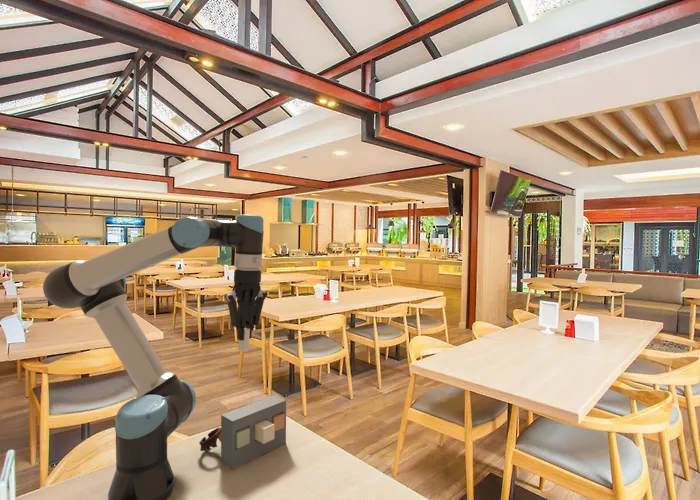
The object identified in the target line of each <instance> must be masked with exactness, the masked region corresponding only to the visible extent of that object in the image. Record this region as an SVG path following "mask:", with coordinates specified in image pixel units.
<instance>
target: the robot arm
mask: <svg viewBox="0 0 700 500" xmlns="http://www.w3.org/2000/svg"><path fill="white" fill-rule="evenodd" d="M264 233H265V230H264V218H263V217H262V216H261V215H255V214H240V213H239V214H237V216H236V220H231V221H230V220H222V219H211V218H203V217H197V216H191V215H190V216H184V217H180V218H179V219H177V220H176V221H175V223H174V224H173V225H170V226H168V227H166V228H163V229H161V230H158V231H156V232H154V233H151V234H149V235H146V236H144V237H142V238H138V239H137V240H134V241H132V242H129V243H126V244H124V245H122V246H119V247H117V248H115V249H112V250H110V251H108V252H105V253H102V254H100V255H98V256H95V257H92V258H91V259H87V260H86V261H85V260H80V259H79V260H75V261H72V262H69V263H67V264H64V265H62V266H59V267H56V268H54V269H53V270H52V271H50V272H49V273H48V274H47V275H46V277H45V279H44V280H43V284H42V290H43V294H44V296H45V299H47V301H48V302H49V303H50V304H52V305H54V306H55V307H58V308H61V309H77V308H80V309H81V310H82V312H83V315H84V316H85V317H88V318H93V319H94V320H95V321H96V323H97V325H98V326H99V328H100V330H101V332H102V333H103V335H104V336H105V338H106V339H107V341H108V343H109V344H110V346H111V348H112V349H113V351H114V352H115V355H116V356H117V357H118V359H119V361H120V362H121V364H122V365H123V368H124V369H125V371H126V372H127V375H129V377H130V379H131V380H132V382H133V384H134V385H135V388H136V389H137V392H136V396H135V398H133V399H130V400H129V401H127V402H125V403H124V404H122V406H120V408H119V409H118V411H117V412H116V413H117V414H116V417H115V425H114V430H115V472H114V475H113V478H112V480H111V484H110V487H109V489H108V493H107V500H167V499H168V498H169V497H170V496H171V495H172V493H173V492H174V490H175V485H176V484H175V483H176V482H175V481H176V479H175V475H174V472H173V469H172V467H171V464H170V461H169V459H168V438H169V437H170V436H171V434H173V433H174V431H175V430H176V429H177V428H179V427H180V426H181V424H183V423H184V422H186V421H187V420H188V419H189V417H190V415H191V414H192V412H193V411H194V409H195V407H196V402H197V396H196V391H195V389H194V387H193V386H192V385H191V384H190V383H189V382H187V381H184V380H183V379H179V377H178V375H177V374H176V373H175V372H171V371H168V370H167V369H166V368H165V366H164V364H163V362H162V360H161V359H160V358H159V356H158V354H157V352H156V351H155V349H154V348H153V346H152V344H151V343H150V341H149V339H148V337H146V334H145V333H144V331H143V330H142V328H141V327H140V325H139V323H138V321H137V320H136V318H135V316H134V314H133V313H132V311H131V310H130V309H129V307H128V305H127V303H126V302H127V298H128V294H127V292H126V285H127V279H126V278H127V277H130V276H132V275H134V274H137V273H139V272H142V271H143V270H147V269H149V268H151V267H153V266H156V265H159V264H161V263H162V262H166V261H169V260H170V259H173V258H175V257H178V256H180V255H183V254H186V253H188V252H190V251H193V250H196V249H198V248H205V247H206V248H207V247H222V248H223V247H226V248H234V249H235V250H234V265H233V266H234V268H235V269H234V272H233V283H234V285H233V288H232V291H231V292H229V293H225V294H224V298H225V300H226V302H227V306H228V313H229V318H230V324H231V327H233V328H236V329H237V338H236V339H237V340H238V341H239V342H238V343H239V345H238V350H239V351H241V352H243V353H246V352H250V351H249V350H250V340H251V339H252V338H253V337H252V333H253V330H254V329H255V326H258V325H259V323H260V318H261V314H262V311H263V306H264V302H265V299H266V298H267V295H268V293H267V292H266V291H264V290H262V287H261V285H260V283H261V282H262V270H261V268H262V263H263V262H262V261H263V243H264ZM236 299H237V300H236Z"/></svg>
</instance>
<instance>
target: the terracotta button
mask: <svg viewBox="0 0 700 500" xmlns="http://www.w3.org/2000/svg"><path fill="white" fill-rule="evenodd" d="M272 423H273V424H274V432H275V431H278V430H280V429H282V428H284V414H283V413H279V414H276V415H274V416H272Z"/></svg>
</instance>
